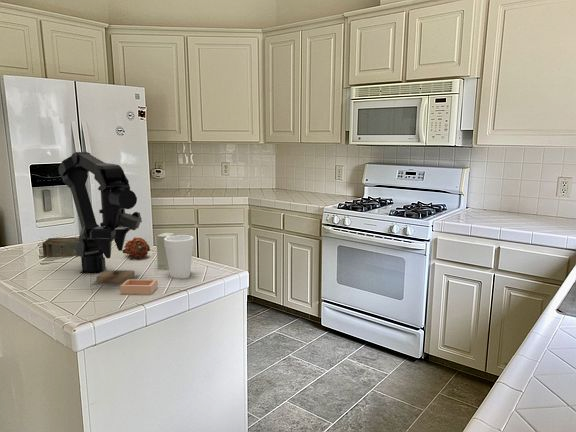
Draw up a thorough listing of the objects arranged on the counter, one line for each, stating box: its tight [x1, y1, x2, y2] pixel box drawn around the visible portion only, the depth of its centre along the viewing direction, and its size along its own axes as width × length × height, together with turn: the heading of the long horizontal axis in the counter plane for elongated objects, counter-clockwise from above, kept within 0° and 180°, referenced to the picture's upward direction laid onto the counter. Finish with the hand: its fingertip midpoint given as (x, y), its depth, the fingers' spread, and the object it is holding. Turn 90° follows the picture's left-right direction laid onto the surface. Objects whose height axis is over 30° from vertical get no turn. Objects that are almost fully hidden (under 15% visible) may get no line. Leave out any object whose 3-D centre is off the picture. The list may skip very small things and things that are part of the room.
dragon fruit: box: [121, 237, 151, 259], centre depth 167 cm, size 8×8×12 cm
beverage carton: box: [42, 236, 80, 258], centre depth 171 cm, size 8×19×7 cm, turn 102°
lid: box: [96, 269, 136, 283], centre depth 138 cm, size 10×6×3 cm
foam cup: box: [164, 234, 195, 280], centre depth 143 cm, size 10×9×13 cm
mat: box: [90, 274, 141, 286], centre depth 138 cm, size 12×10×1 cm
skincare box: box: [155, 232, 176, 271], centre depth 152 cm, size 6×4×12 cm
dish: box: [119, 278, 159, 296], centre depth 128 cm, size 9×6×3 cm, turn 89°
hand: (114, 254), depth 137 cm, fingers open, 9 cm apart
